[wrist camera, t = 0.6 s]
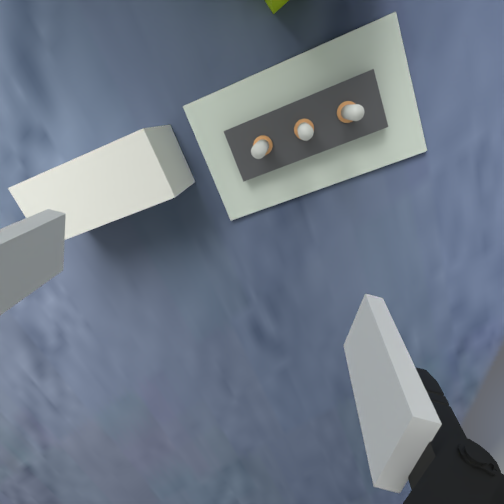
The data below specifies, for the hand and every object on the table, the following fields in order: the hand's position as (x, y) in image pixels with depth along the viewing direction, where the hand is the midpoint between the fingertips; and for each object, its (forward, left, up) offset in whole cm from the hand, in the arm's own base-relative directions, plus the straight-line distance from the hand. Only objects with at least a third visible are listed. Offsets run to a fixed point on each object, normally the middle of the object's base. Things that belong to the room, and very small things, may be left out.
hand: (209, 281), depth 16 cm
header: (-3, +6, -23) cm, 24 cm away
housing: (-5, -13, -23) cm, 27 cm away
